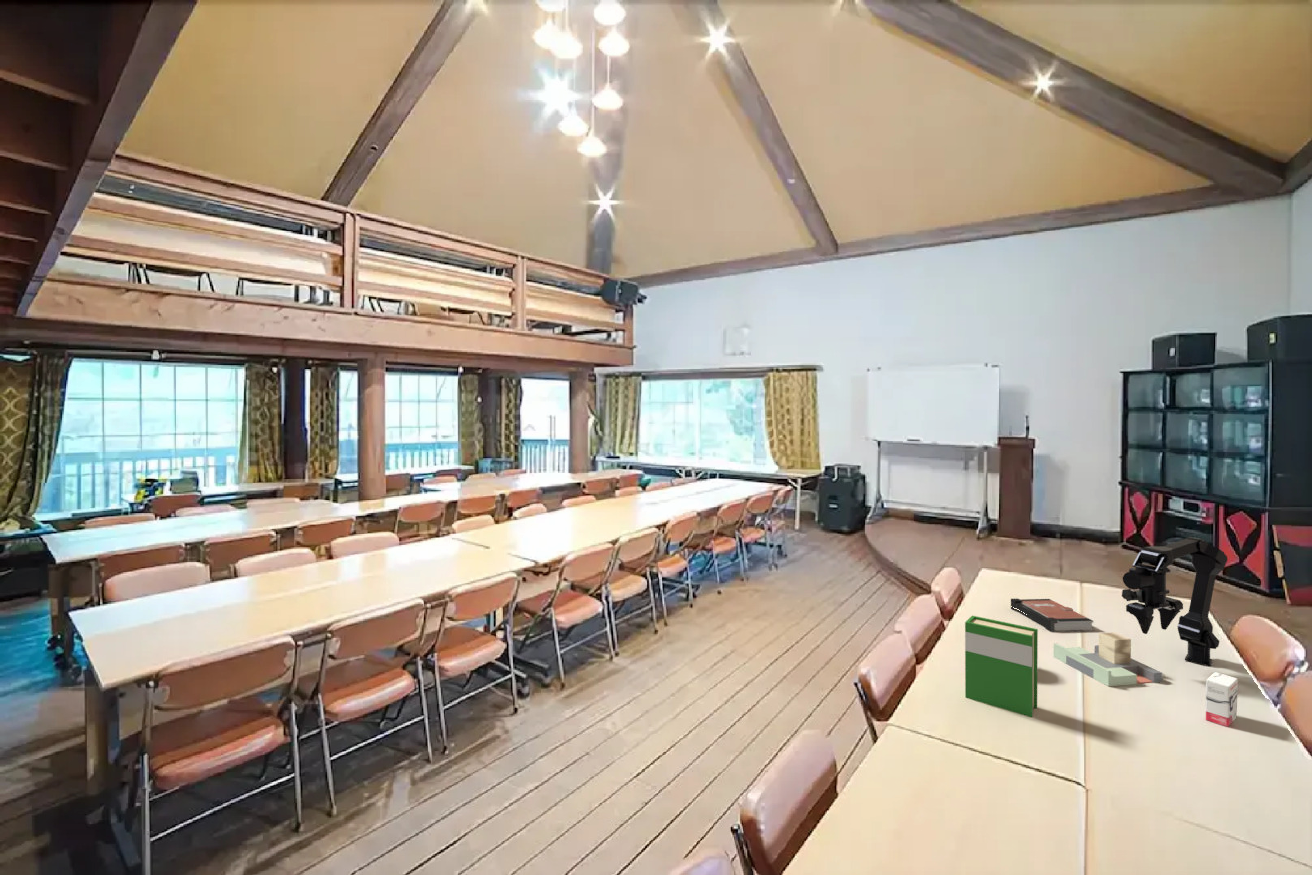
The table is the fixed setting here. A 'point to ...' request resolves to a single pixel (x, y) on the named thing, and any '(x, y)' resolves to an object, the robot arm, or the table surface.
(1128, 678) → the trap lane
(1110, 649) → the beech block
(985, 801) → the table surface
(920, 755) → the table surface
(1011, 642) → the hardback book
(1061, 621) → the book
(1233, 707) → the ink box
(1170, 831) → the table surface
